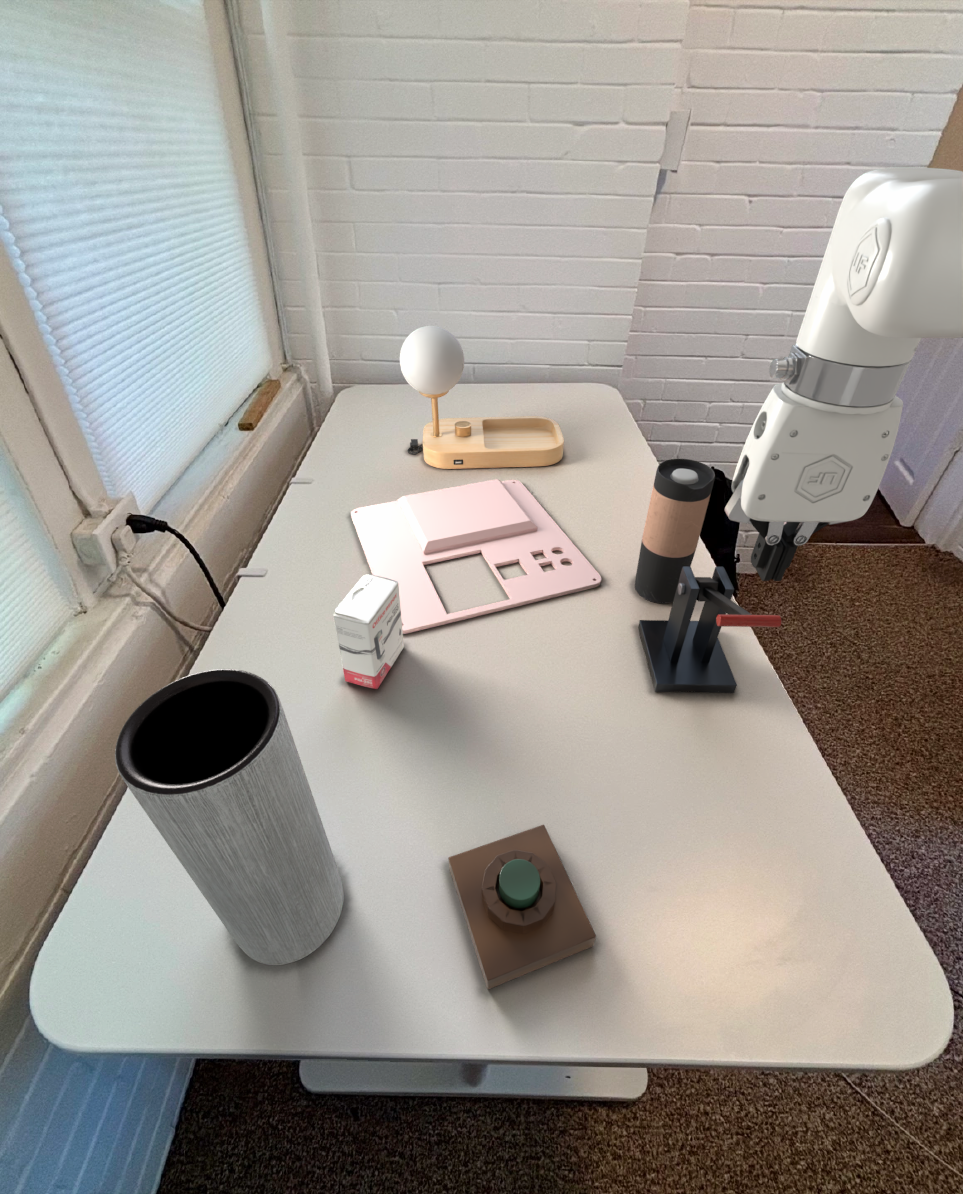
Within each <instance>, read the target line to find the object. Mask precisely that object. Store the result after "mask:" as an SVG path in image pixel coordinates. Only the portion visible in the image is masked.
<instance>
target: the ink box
mask: <svg viewBox="0 0 963 1194" xmlns="http://www.w3.org/2000/svg"><path fill="white" fill-rule="evenodd" d="M332 616H333V622H334V627H335V632H336V637H337V645H338V649H339V655H340V660H341V665H342V672H343V677H344V681H345V682H347V683H350V684H354V685H358V686H361V687H365V688H369V689H373V690H378V689H379V688H380V687H381V686H380V685H381V684H382V682H383V681H384V680H385V678H386V676H387V675H388V673H389V671H390V670H391V668H393V665H394V664H395V662H396V661H397V659H398V658H399V656H400V654H401V652H402V651H403V649H404V647H405V643H404V634H403V630H402V619H401V608H400V597H399V585H398V581H395V580H392V579H388V578H385V577H380V576H376V575H372V573H371V574H370V573H367V574H364V575H362V576H361V577H360V578H359V580H358V581H357V582H356V583H355V584H354V586H353V587H352V588H351V589H350V590H349V591H348V592H347V594H346V596H345V597H344V598H343V599H342V600H340V602H339V604H338V605H337V606H336V607H335V609H334V613H333V615H332Z"/></svg>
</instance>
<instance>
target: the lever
mask: <svg viewBox="0 0 963 1194" xmlns="http://www.w3.org/2000/svg"><path fill="white" fill-rule="evenodd" d="M695 579H696V581H697V584H698V586H699V588H700V590H699V593H698V597H697V600H696V602H703V603H704V602H712V603H714V604H715V605H716V606H718V607H719V608H720V609H722V610H723V611H724V612H726V615H725V614H719V615H717V618H716V623H717V626H722V627H730V628H731V627H739V628H742V627H743V628H780V627H781V626H782V617H781V615H779V614H752V613H750V612H749V611H747V610H746V609H745V608H743V607H741V606H740V605H739V604H737V603H736V602H735V601H732V599H731V600H730V599H728V598H727V597H725V596H724V595H722V594H721V593H719V592H718V582H717V581H715V580H714V579H712V576H695Z"/></svg>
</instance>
